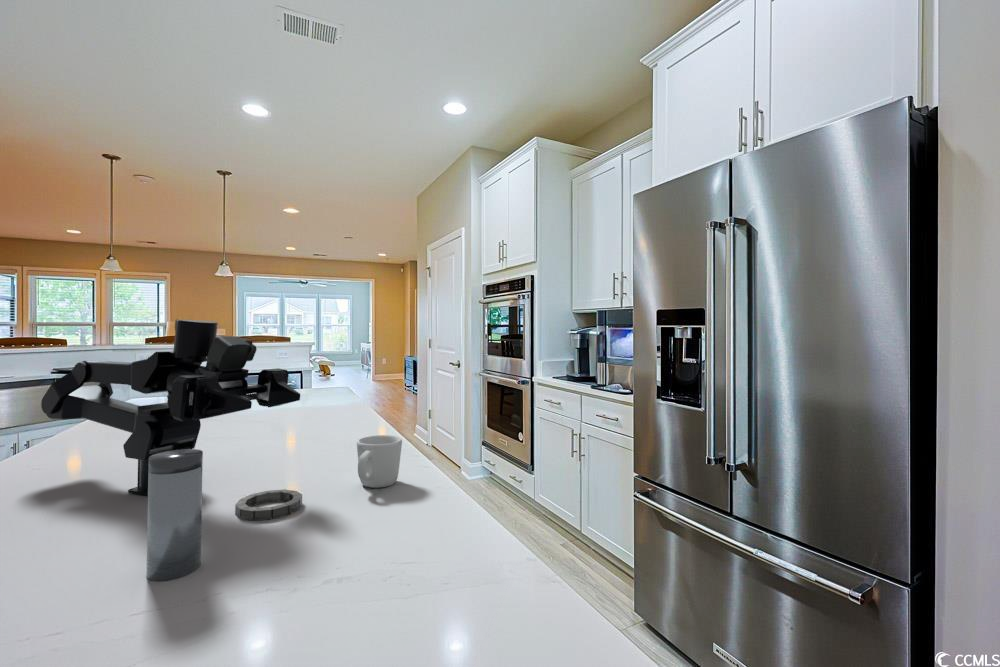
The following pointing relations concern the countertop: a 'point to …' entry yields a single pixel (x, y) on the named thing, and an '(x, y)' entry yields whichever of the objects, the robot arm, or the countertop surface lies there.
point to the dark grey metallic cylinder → (174, 514)
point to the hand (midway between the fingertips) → (276, 400)
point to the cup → (379, 460)
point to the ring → (266, 513)
